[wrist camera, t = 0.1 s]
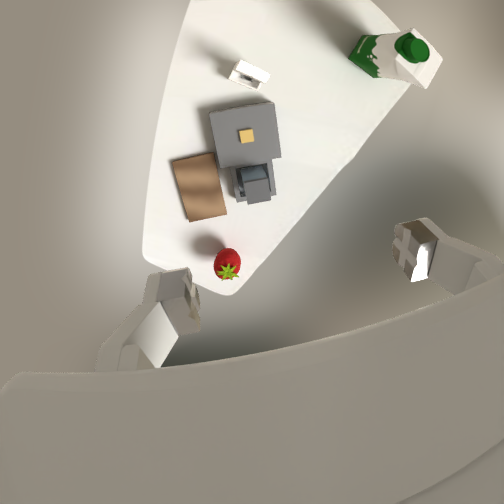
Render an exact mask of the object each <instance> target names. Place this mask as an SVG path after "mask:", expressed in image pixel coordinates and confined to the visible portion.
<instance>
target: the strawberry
mask: <svg viewBox="0 0 504 504" xmlns="http://www.w3.org/2000/svg"><path fill="white" fill-rule="evenodd" d="M240 265H241V259H240V256H239V255H238V253H237V252H236V251H235V250H234V249H231V248H225V249H223V250H221V251H220V252H219V253H218V254H217V256H216V259H215V261H214V271H215V273H216V275H217V276H218V277H219V278H221V279H222V280H224V279H230V278H231V280H233V279H232V278H233V277H239V276H238V275H236V274H237V273H238V272H239V270H240Z"/></svg>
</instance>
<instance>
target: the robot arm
mask: <svg viewBox="0 0 504 504" xmlns="http://www.w3.org/2000/svg"><path fill="white" fill-rule="evenodd" d="M394 234H395V235H396V239H395V240H394V242H393V245H392V252H393V257H394V259H395V261H396V262H397V264H398V265H400V266H402V267H404V270H403V271H404V273H405V274H406V276H407V277H408V278H409V279H410V281H411V282H413V281H416V280H420V279H423V278H427V277H428V279H430V280H431V281H433V282H434V283H436V284H437V285H439V286H441V287H442V288H444V289H445V290H447V291H449V292H450V293H452V294H453V295H454V296H451V297H449V298H446V299H444V300H441V301H439V302H436V303H433V304H431V305H428V306H425V307H423V308H420V309H417V310H414V311H412V312H409V313H406V314H403V315H400V316H397V317H394V318H391V319H388V320H385V321H382V322H379V323H376V324H372V325H369V326H366V327H362V328H359V329H356V330H353V331H349V332H345V333H342V334H338V335H334V336H330V337H327V338H323V339H319V340H315V341H311V342H307V343H303V344H299V345H294V346H290V347H285V348H281V349H276V350H271V351H266V352H261V353H257V354H251V355H246V356H240V357H235V358H229V359H223V360H216V361H210V362H203V363H196V364H189V365H181V366H172V367H164V368H160V367H161V365H162V363H163V362H164V360H165V358H166V357H167V355H168V353H169V352H170V350H171V348H172V347H173V345H174V343H175V341H176V340H177V339H178V336H179V335H185V334H190V333H195V332H200V316H199V314H198V311H199V309H200V299H199V294H198V290H197V288H196V285H195V284H194V283H192V274H191V272H190V269H189V268H188V267H186V268H180V269H175V270H169V271H164V272H158V273H153V274H150V275H149V276H148V279H147V284H146V288H145V293H144V297H143V302H142V305H138V306H137V307H136V308H135V310H133V311H132V313H131V314H130V315H129V316H128V317H127V318H126V319H125V320H124V321H123V322H122V323H121V324H120V325H119V327H118V328H117V329H116V330H115V331H114V332H113V333H112V334H111V335H110V336H109V338H108V339H107V340H106V341H105V342H104V343H103V344H102V345H101V346H100V349H99V353H98V358H97V361H96V366H95V370H94V372H93V373H38V372H37V373H36V372H20V373H17V374H16V375H15V376H14V377H13V378H12V379H10V380H9V381H8V382H7V383H6V384H5V385H4V386H3V388H2V389H1V390H0V504H504V264H503V262H502V261H501V260H500V259H499V258H498V257H497V256H496V255H494V254H492V253H490V252H487V251H485V250H483V249H480V248H478V247H475V246H473V245H471V244H468V243H466V242H463V241H461V240H458V239H456V238H453V237H448V236H447V235H446V234H445V233H444V232H443V231H442V230H441V229H440V228H438V227H437V226H436V225H435V224H434V223H433V222H432V221H431V220H430V219H428V218H421V219H417V220H415V221H410V222H405V223H401V224H397V225H396V227H395V232H394Z"/></svg>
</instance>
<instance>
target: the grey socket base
mask: <svg viewBox="0 0 504 504" xmlns="http://www.w3.org/2000/svg"><path fill="white" fill-rule="evenodd" d="M209 117H210V121H211V126H212V131H213V136H214V141H215V145H216V150H217V155H218V160H219V164H220V168H225V167H230V171H231V176H232V181H233V186H234V191H235V196H236V201H237V202H242V201H247V199H246V195H245V193H240V191H239V186H238V180H237V175H236V170H235V169H236V168H242V167H247V166H252V165H258V164H264V163H266V167H267V174H268V181H269V189H270V196H274V195H276V188H275V180H274V172H273V165H272V159H274V158H281V150H280V142H279V134H278V127H277V119H276V112H275V105H274V103H273V102H265V103H258V104H252V105H245V106H239V107H234V108H228V109H223V110H218V111H213V112H209Z"/></svg>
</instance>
